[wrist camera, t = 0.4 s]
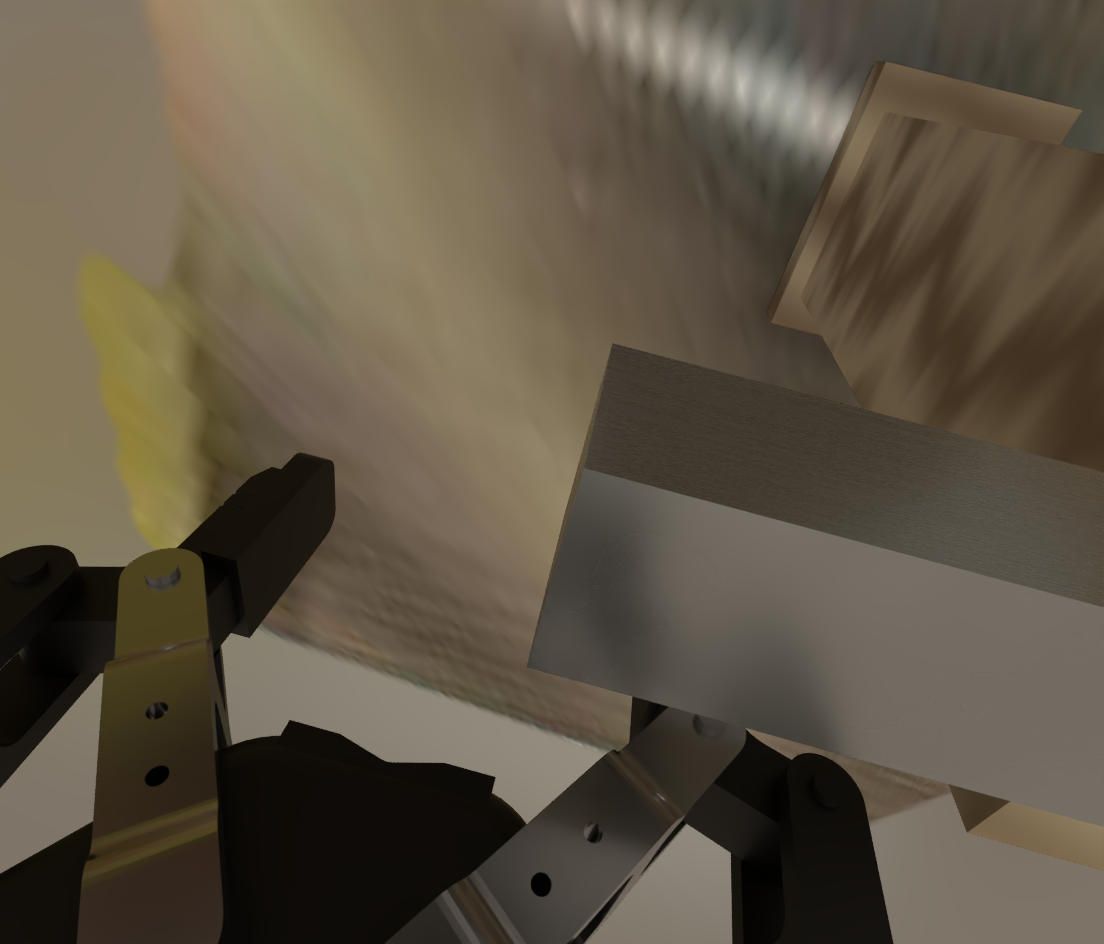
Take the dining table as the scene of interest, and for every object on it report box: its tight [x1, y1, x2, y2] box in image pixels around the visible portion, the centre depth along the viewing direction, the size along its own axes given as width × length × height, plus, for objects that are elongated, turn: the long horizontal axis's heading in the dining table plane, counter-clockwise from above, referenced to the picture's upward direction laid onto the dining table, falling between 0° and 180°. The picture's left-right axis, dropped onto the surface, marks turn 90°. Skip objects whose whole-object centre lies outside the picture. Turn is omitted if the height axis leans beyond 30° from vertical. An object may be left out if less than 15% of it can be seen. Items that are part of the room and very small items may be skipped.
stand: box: [767, 62, 1104, 871], centre depth 22 cm, size 14×10×33 cm
